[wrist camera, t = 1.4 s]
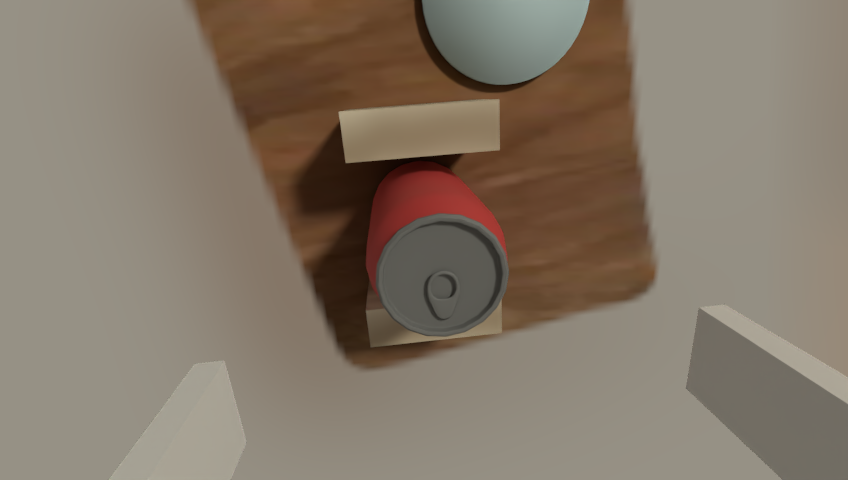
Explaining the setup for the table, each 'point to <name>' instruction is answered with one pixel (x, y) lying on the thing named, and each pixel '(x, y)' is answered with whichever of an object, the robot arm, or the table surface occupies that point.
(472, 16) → the coaster
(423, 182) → the beer can
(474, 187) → the table surface
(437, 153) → the block
